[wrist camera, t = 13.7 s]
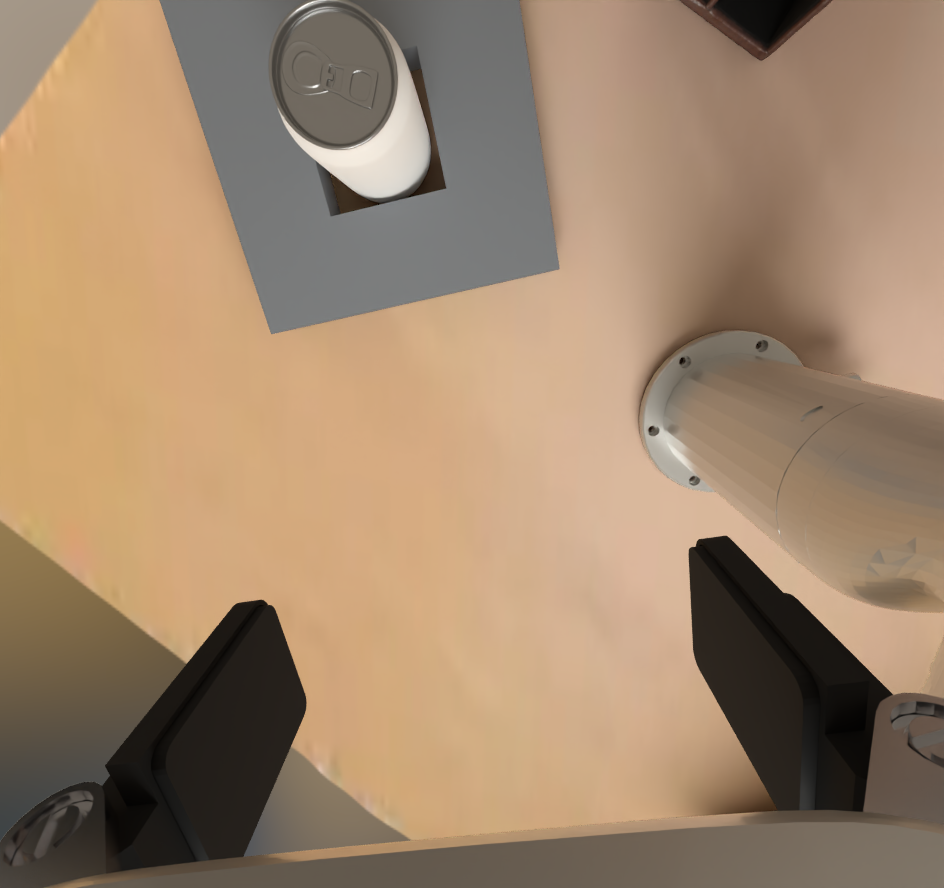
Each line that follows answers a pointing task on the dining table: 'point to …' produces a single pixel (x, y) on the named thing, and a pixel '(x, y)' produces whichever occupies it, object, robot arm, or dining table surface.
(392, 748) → the dining table surface
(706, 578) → the robot arm
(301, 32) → the can
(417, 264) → the socket block
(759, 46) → the letter holder
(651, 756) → the dining table surface
